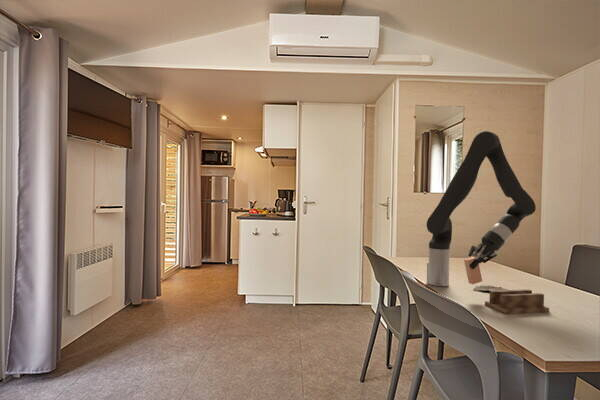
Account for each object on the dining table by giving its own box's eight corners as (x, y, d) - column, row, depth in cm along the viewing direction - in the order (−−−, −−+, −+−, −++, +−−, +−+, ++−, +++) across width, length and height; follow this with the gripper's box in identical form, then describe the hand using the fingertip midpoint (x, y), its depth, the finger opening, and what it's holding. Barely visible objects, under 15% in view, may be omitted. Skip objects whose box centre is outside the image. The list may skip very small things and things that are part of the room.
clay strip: (472, 284, 148) (467, 260, 147) (468, 283, 150) (463, 259, 150) (482, 281, 149) (477, 257, 148) (478, 279, 151) (473, 256, 150)
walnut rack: (505, 314, 132) (505, 297, 132) (484, 305, 143) (485, 289, 143) (549, 312, 135) (549, 295, 135) (525, 303, 146) (526, 288, 146)
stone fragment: (472, 289, 171) (472, 294, 162) (472, 283, 171) (472, 288, 162) (536, 295, 161) (540, 301, 152) (536, 288, 161) (540, 294, 152)
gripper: (479, 228, 157) (452, 257, 155) (503, 232, 143) (474, 264, 141) (490, 240, 158) (463, 270, 156) (515, 245, 144) (486, 277, 142)
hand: (468, 267), depth 149 cm, fingers closed on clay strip, 2 cm apart
